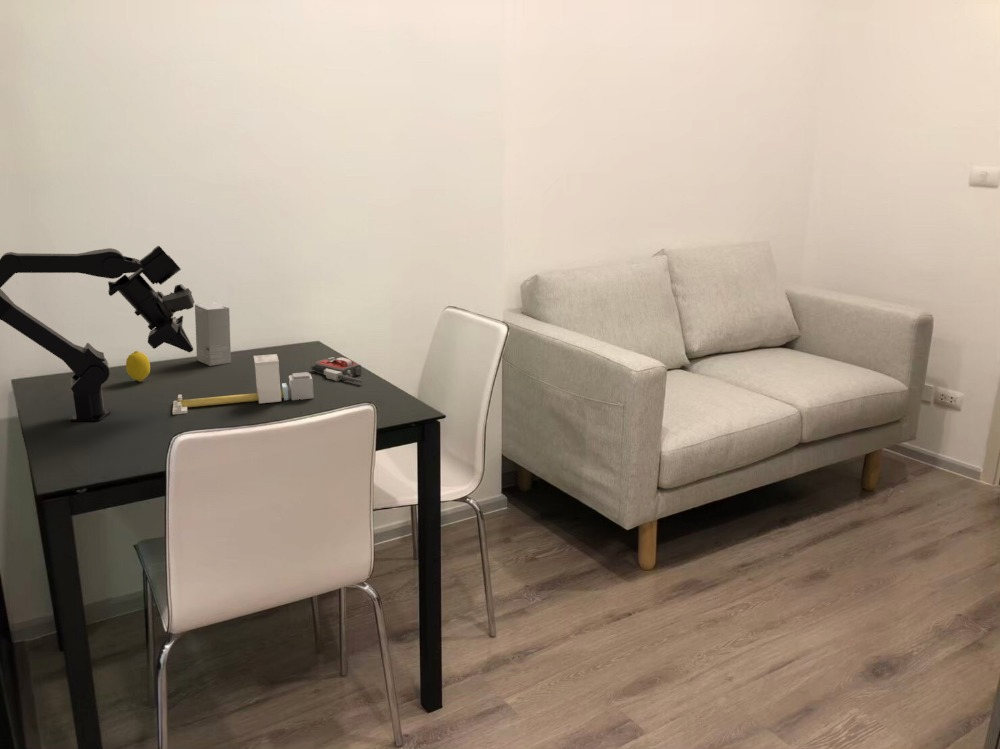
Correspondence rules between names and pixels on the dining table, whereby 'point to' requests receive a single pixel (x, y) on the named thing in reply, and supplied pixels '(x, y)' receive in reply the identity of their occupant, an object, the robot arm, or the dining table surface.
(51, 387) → the dining table surface
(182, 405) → the wooden handled rake
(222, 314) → the skincare box
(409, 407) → the dining table surface
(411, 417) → the dining table surface
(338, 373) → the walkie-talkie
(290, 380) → the grey plastic block
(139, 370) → the lemon
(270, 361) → the white lidded box
